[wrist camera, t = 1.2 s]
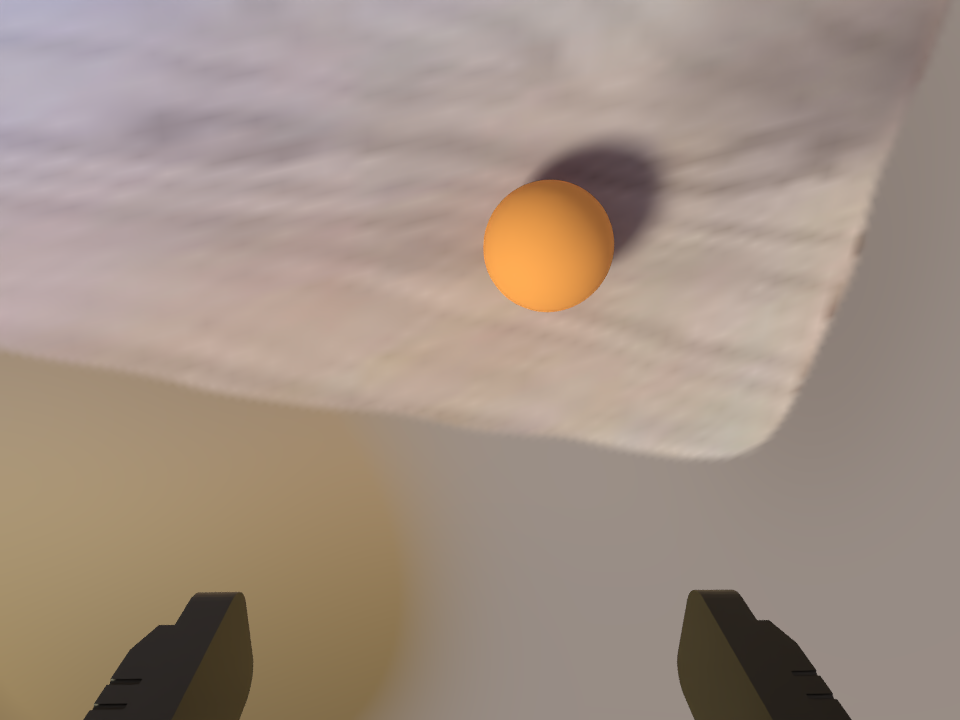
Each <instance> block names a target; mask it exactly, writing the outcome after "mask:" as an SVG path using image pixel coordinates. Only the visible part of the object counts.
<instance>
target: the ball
mask: <svg viewBox="0 0 960 720" xmlns="http://www.w3.org/2000/svg"><path fill="white" fill-rule="evenodd" d="M483 248H484V259H485V264H486V267H487V270H488V273H489V275H490V277H491V279H492V281H493V282H494V284H495V285H496V287H497V288H498V289H499V290H500V291H501V293H502V294H503V295H505V296H506V297H507V298H508V299H509V300H511V301H512V302H514V303H515V304H518V305H520V306H522V307H524V308H527V309H530V310H534V311H539V312H555V311H561V310H565V309H568V308H571V307H573V306H575V305H577V304H579V303H581V302H582V301H584V300H586V299H587V298H588V297H589V296H591V295H592V294H593V293H594V292H595V291H596V290H597V289H598V287H599V286H600V285H601V283H602V282H603V280H604V279H605V277H606V275H607V273H608V271H609V269H610V266H611V262H612V259H613V253H614V235H613V230H612V226H611V223H610V221H609V218H608V215H607V214H606V212H605V210H604V208H603V207H602V206H601V204H600V203H599V202H598V201H597V200H596V199H595V198H594V197H593V196H592V195H591V194H590V193H588V192H587V191H586V190H584V189H582V188H581V187H579V186H577V185H575V184H572V183H569V182H565V181H561V180H541V181H535V182H532V183H529V184H526V185H523V186H521V187H519V188H517V189H516V190H514V191H513V192H511V193H510V194H509V195H508V196H506V197H505V198H504V199H503V200H502V201H501V202H500V204H499V205H498V206H497V207H496V209H495V210H494V212H493V213H492V215H491V217H490V219H489V222H488V225H487V227H486V231H485V236H484V246H483Z"/></svg>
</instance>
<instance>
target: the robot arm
mask: <svg viewBox="0 0 960 720" xmlns="http://www.w3.org/2000/svg"><path fill="white" fill-rule="evenodd" d="M677 666H678V674H679V680H680V684H681V688H682V691H683V694H684V696H685V698H686V701H687V703H688V705H689V708H690V710H691V712H692V715H693V717H694V719H695V720H851V718H850V717H849V715H848V714H847V713H846V711H845V710H844V709H843V707H842V706H841V704H840V703H839V702H838V700H837V699H834V698H833V693H832V692H831V690H830V689H829V688H828V686H827V685H826V683H825V682H824V680H823V679H822V678H821V676H817V673H816V669H815V668H814V666H813V665H812V664H811V662H810V661H809V660H808V658H807V657H806V655H805V654H804V653H803V651H802V650H801V648H800V647H799V646H798V644H797V643H796V642H795V641H794V640H792V639H791V638H790V637H789V636H787V635H786V634H785V633H784V632H783V631H781V630H780V629H779V628H778V627H776V626H775V625H774V624H773V623H772V622H771V621H769V620H759V621H758V620H757V619H756V618H755V616H754V615H753V614H752V612H751V611H750V609H749V607H748V606H747V604H746V603H745V602H744V600H743V598H742V597H741V596H740V594H739V593H738V592H736V591H734V590H693V591H691V592H690V593H689V596H688V599H687V605H686V610H685V616H684V622H683V627H682V633H681V639H680V644H679V649H678V657H677ZM252 674H253V655H252V648H251V640H250V631H249V624H248V616H247V609H246V602H245V597H244V595H243V594H242V593H241V592H222V593H221V592H214V593H213V592H211V593H210V592H209V593H196V594H195V595H194V596H193V597H192V598H191V599H190V601H189V603H188V604H187V606H186V607H185V609H184V611H183V612H182V614H181V616H180V617H179V619H178V621H177V622H176V624H175V625H159V626H158V627H156V628H155V629H154V630H153V631H152V632H150V633H149V634H148V635H147V636H146V637H145V638H143V639H142V640H141V641H140V642H139V643H137V644H136V645H135V646H134V647H133V648H132V649H130V651H129V652H128V654H127V655H126V657H125V658H124V660H123V661H122V663H121V664H120V666H119V667H118V669H117V670H116V672H115V673H114V675H113V676H112V678H111V681H110V684H109V685H106V687H105V688H104V690H103V691H102V693H101V694H100V696H99V697H98V699H97V700H96V702H95V703H94V708H93V710H90V711H89V712H88V714H87V715H86V717H85V718H84V720H239V719H240V716H241V714H242V711H243V708H244V706H245V703H246V701H247V698H248V694H249V691H250V687H251V681H252Z"/></svg>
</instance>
